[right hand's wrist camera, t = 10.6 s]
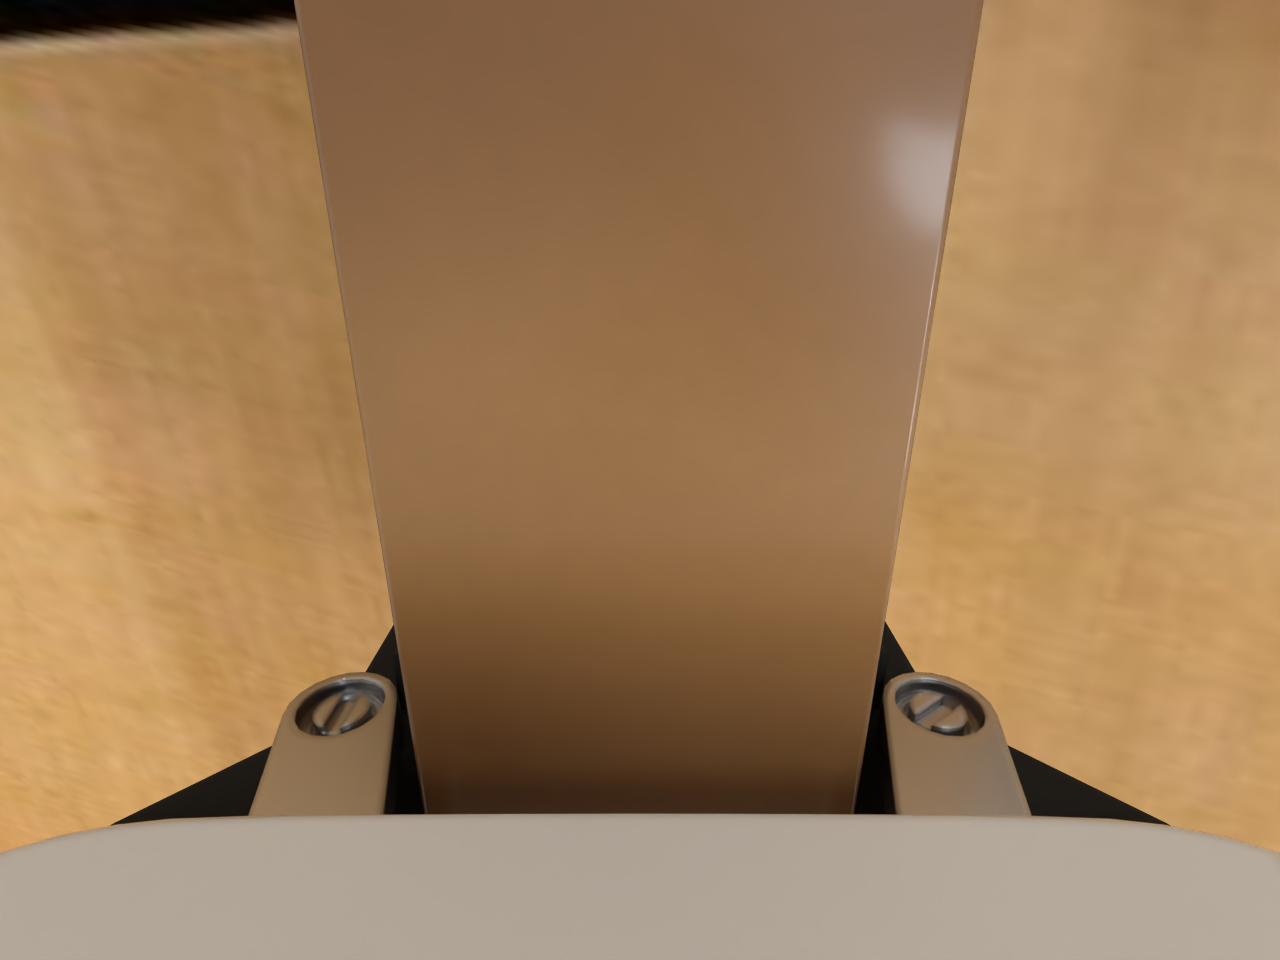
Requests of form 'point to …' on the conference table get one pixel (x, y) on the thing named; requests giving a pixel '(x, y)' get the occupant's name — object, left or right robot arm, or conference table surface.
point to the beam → (638, 375)
